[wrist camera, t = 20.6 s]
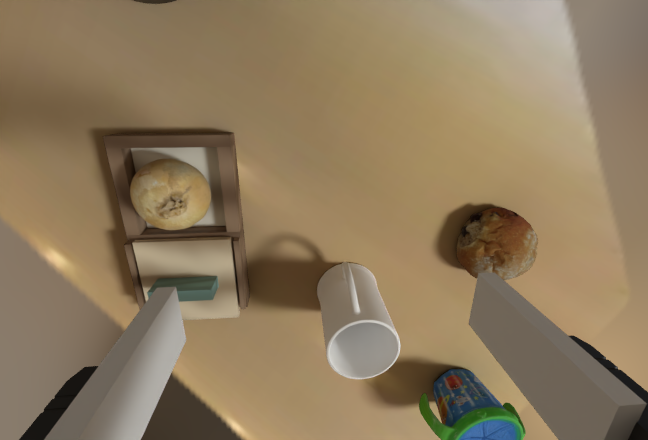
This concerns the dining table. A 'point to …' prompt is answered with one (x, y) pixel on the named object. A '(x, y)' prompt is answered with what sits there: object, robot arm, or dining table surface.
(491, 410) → the snack cup
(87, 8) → the dining table surface
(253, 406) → the dining table surface
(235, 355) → the dining table surface
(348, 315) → the mug
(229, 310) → the cover
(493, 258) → the bread roll
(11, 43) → the dining table surface
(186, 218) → the onion
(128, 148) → the brown sliding lid box
